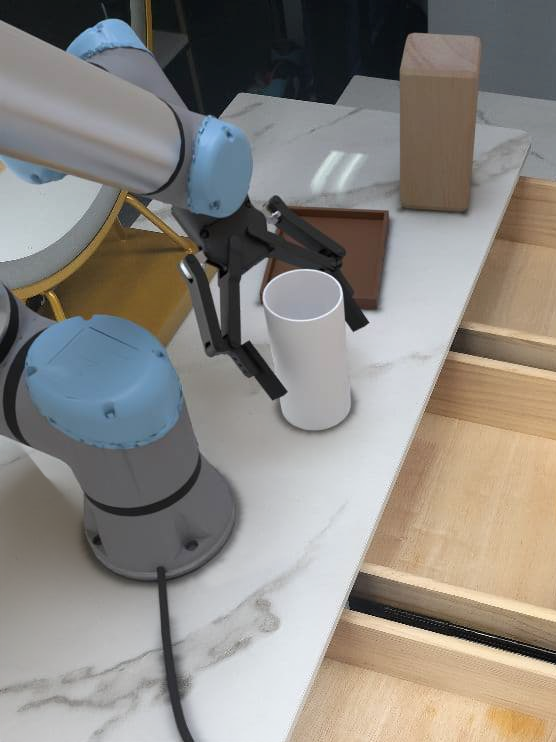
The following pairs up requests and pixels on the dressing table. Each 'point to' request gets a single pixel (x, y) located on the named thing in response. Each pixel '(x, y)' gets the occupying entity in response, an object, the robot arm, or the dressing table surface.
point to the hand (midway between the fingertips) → (322, 361)
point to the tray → (359, 238)
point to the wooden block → (438, 120)
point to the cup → (309, 347)
